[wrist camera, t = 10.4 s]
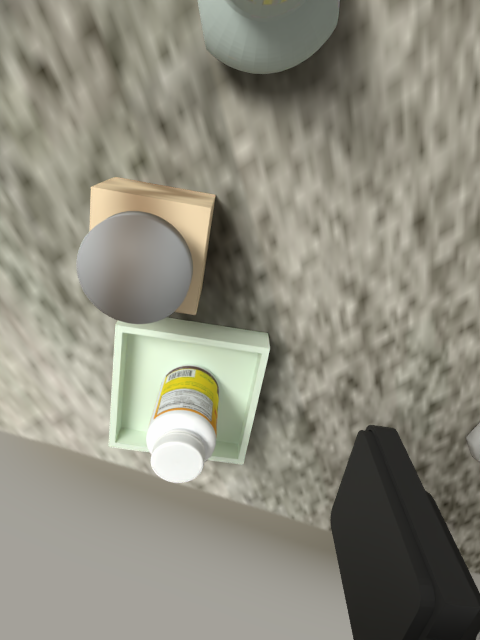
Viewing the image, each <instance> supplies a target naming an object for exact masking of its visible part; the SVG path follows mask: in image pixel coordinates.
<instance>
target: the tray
mask: <svg viewBox="0 0 480 640" xmlns="http://www.w3.org/2000/svg"><path fill="white" fill-rule="evenodd" d="M269 351H270V344H269V337H268V333H264V332H257V331H251V330H245V329H238V328H232V327H225V326H219V325H213V324H206V323H200V322H194V321H187V320H181V319H174V318H168V317H166V318H164V319H162V320H159V321H157V322H153V323H148V324H130V323H126V322H122V321H119V320H118V322H117V323H116V325H115V343H114V360H113V377H112V394H111V412H110V429H109V446H108V447H113V448H121V449H128V450H136V451H143V452H149V450H148V447H147V443H146V435H147V430H148V427H149V423H150V420H151V417H152V413H153V410H154V407H155V403H156V400H157V396H158V393H159V390H160V386H161V383H162V381H163V379H164V377H165V375H166V374H167V373H168V372H169V371H170V370H172V369H174V368H175V367H178V366H181V365H188V364H190V365H197V366H200V367H203V368H205V369H207V370H208V371H209V372H210V373H211V374H212V375H213V376H214V377H215V379H216V380H217V383H218V386H219V402H218V418H217V434H216V445H215V449H214V452H213V453H212V455H211V456H210V458H209V459H208V460H211V461H219V462H226V463H234V464H241V465H243V464H244V459H245V455H246V451H247V446H248V442H249V438H250V433H251V429H252V425H253V420H254V416H255V412H256V408H257V403H258V399H259V395H260V390H261V386H262V382H263V377H264V373H265V369H266V364H267V360H268V356H269Z"/></svg>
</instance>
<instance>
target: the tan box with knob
mask: <svg viewBox="0 0 480 640" xmlns="http://www.w3.org/2000/svg"><path fill="white" fill-rule="evenodd" d="M215 196H216V195H213V194H207V193H202V192H196V191H191V190H185V189H179V188H174V187H168V186H163V185H157V184H152V183H146V182H140V181H135V180H129V179H124V178H118V177H114V178H112V179H109V180H107V181H104V182H102V183H99V184H97V185H94V186H92V187H91V204H90V231H89V233H88V234H87V235H86V236H85V238H84V240H83V241H82V243H81V245H80V248H79V251H78V255H77V274H78V278H79V281H80V284H81V287H82V289H83V291H84V293H85V294H86V296H87V297H88V298H89V300H90V301H91V302H92V303H93V304H94V305H95V306H96V307H97V308H98V309H99V310H100V311H102V312H103V313H105V314H106V315H108V316H109V317H112V318H114V319H116V320H119V321H122V322H126V323H130V324H148V323H153V322H157V321H159V320H162V319H164V318H166V317H168V316H169V315H171V314H172V313H173V312H179V313H185V314H192V315H196V312H197V308H198V303H199V299H200V295H201V290H202V285H203V278H204V271H205V264H206V258H207V251H208V244H209V237H210V230H211V223H212V216H213V210H214V203H215Z"/></svg>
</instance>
